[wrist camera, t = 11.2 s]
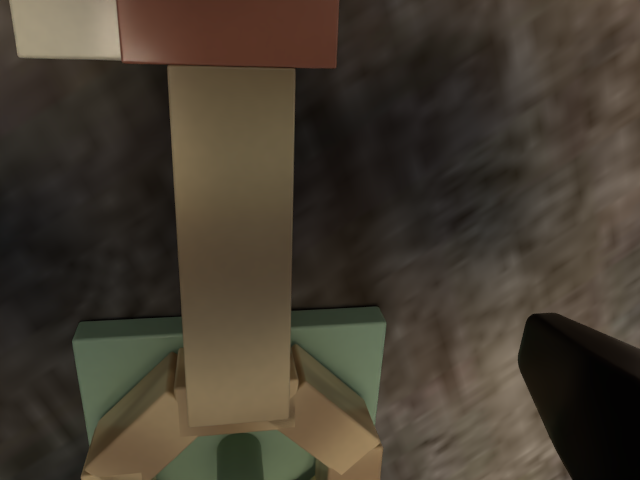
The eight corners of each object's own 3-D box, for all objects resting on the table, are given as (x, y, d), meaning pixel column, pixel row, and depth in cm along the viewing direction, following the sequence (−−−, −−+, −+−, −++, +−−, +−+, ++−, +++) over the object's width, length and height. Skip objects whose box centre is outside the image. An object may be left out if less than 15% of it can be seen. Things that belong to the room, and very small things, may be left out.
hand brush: (356, 537, 20) (381, 626, 17) (113, 567, 19) (94, 670, 16) (416, -232, 12) (480, -314, 9) (2, -282, 11) (-79, -398, 8)
